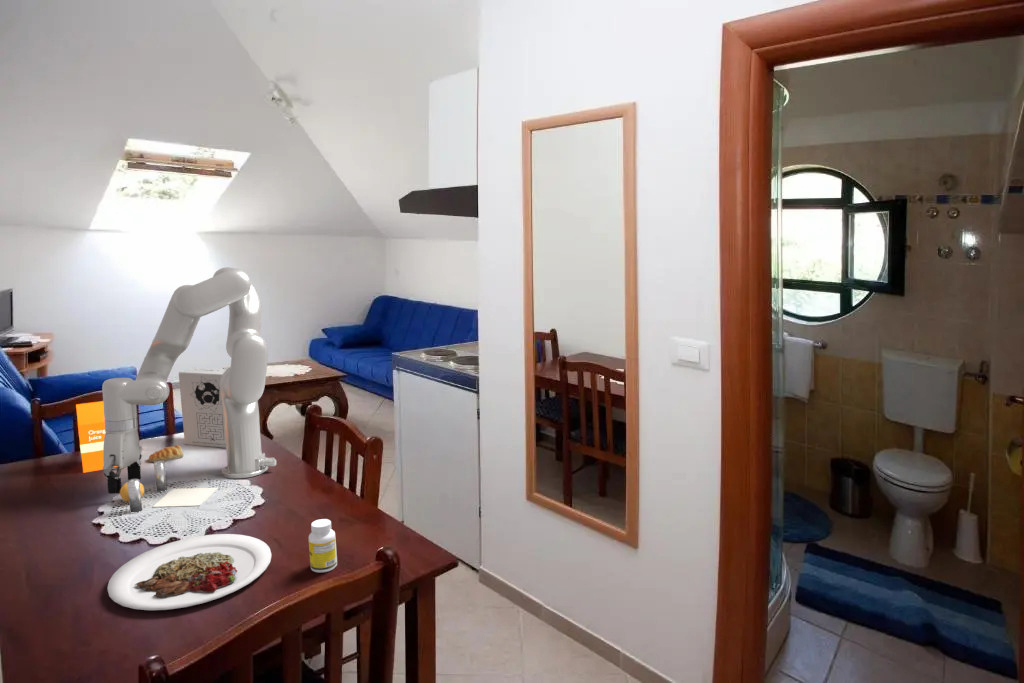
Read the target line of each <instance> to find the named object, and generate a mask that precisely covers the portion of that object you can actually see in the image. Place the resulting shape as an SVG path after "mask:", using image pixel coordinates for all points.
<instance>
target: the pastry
mask: <svg viewBox="0 0 1024 683" xmlns="http://www.w3.org/2000/svg"><path fill="white" fill-rule="evenodd" d="M183 457H184V452H183V450H182V447H181V446H180V445H179V444H177V445H173V446H168V447H167V446H166V447H164V448H161V449H159V450H157V451H155V452H153V453H151V454H150V455H149V456H148V461H149V462H152V463H154V462H156V461H165V462H170V461H175V460H179V459H182V458H183Z"/></svg>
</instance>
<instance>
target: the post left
mask: <svg viewBox="0 0 1024 683" xmlns="http://www.w3.org/2000/svg"><path fill="white" fill-rule="evenodd" d="M126 483H127V484H128V493H129V502H128V503H129V511H131V512H137V513H139V511H140V512H142V511H143V503H142V497H141V492H140V483H141V482H140V480H139V479H131V480H128V479H127V482H126ZM131 512H130V513H131Z"/></svg>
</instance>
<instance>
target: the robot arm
mask: <svg viewBox="0 0 1024 683" xmlns="http://www.w3.org/2000/svg"><path fill="white" fill-rule="evenodd" d="M261 303H262V302H261V298H260V296H259V293H258V291H257V290H256V288H255V286H254V285H253V283H252V281H251V278H250V276H249V275H248V273H246V272H245V271H244V270H242V269H239V268H235V267H229V266H228V267H227V266H226V267H221V268H220V269H219V268H218V270H216V271H215V272H214V274H213V276H212V277H209V278H207V279H206V280H203V281H201V282H198V283H195V284H185V285H181V286H178V288H176V289H175V290H174V291H173V294H172V295H171V298H170V300H169V302H168V305H167V307H166V310H165V312H164V315H163V317H162V320H161V322H160V324H159V326H158V329H157V331H156V333H155V336H154V337H153V340H152V342H151V344H150V345H149V348H148V351H147V353H146V354H145V356H144V359H143V361H142V363H141V365H140V368H139V370H138V373H137V375H136V378H135V380H134V379H133V378H130V377H113V378H109V379H108V378H107V380H104V382H103V383H102V387H101V389H102V401H103V406H104V423H105V432H106V433H105V436H104V445H103V465H104V466H103V472H104V473H103V474H104V476H105V479H106V480H107V493H108V494H120V489H121V487H122V478H121V477H120V476H121V473H122V470H124V469H127V481H128V480H131V479H139V481H140V480H141V478H142V474H141V465H142V462H141V459H142V457H143V456H142V452H143V446H141V445H140V437H139V432H138V429H139V424H138V423H139V422H138V408H137V406H156V405H160V404H162V403H164V402H165V401H166V400H167V399H168V397H169V395H170V386H169V385H168V383H167V381H168V378H169V375H170V374H171V372H172V369H173V367H174V365H175V362H176V361H177V360H178V358H179V357H180V355H182V354H183V353H184V352H185V351H186V350H187V349H188V347H189V346H190V343H191V341H192V338H193V336H194V333H195V331H196V328H197V327H198V324H199V322H200V319H201V318H202V317H204V316H207V315H209V314H211V313H215V312H216V311H218V310H221V309H223V308H225V307H227V306H228V308H229V317H228V329H227V336H226V341H225V342H226V343H225V350H226V353H227V355H228V356H229V357H230V358H231V360H230V367H228V368H226V369H227V370H226V371H225V372H224V373H223V374H222V376H221V379H220V392H221V398H222V404H223V413H224V426H225V439H226V448H225V450H226V462H227V465H226V466H224V467H223V468H222V470H221V473H222V476H223V477H225V478H229V479H246V478H252V477H256V476H259V475H262V474H263V473H266V472H267V471H268V469H269V467H275V466H277V459H275V457H267V456H266V454H265V453H266V452H263V451H262V440H261V425H260V410H259V409H260V407H259V399H261V397H262V396H263V393H264V391H265V386H266V378H267V369H268V362H269V361H268V360H269V350H268V349H269V348H268V344H267V342H266V339H264V338H263V336H261V327H262V326H261V325H262V304H261ZM113 466H118V467H113ZM114 471H115V472H116V473H115V472H114Z"/></svg>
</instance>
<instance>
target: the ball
mask: <svg viewBox="0 0 1024 683" xmlns="http://www.w3.org/2000/svg"><path fill="white" fill-rule="evenodd" d="M140 492H141V498H142V497H143V495H144V494H145V486H144V485H143V483H141V482H140ZM119 496H120V498H121V499H122V500H123V501H124V502H127V503H129V493H128V484H127V482H125V483H123V485H121V489H120V493H119Z"/></svg>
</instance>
